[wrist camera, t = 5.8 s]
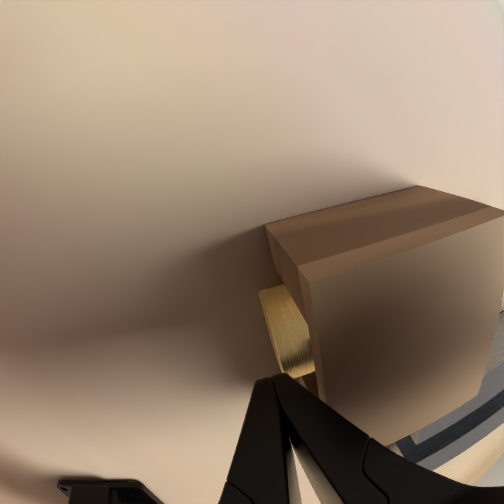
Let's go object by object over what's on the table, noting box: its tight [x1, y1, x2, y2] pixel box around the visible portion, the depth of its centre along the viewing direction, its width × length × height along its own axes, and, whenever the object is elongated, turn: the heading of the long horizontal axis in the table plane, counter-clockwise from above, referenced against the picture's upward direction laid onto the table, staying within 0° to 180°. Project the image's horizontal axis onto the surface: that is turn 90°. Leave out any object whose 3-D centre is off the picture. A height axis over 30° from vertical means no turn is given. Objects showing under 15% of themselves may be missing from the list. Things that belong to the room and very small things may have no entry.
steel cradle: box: [385, 311, 504, 471], centre depth 13 cm, size 8×11×3 cm
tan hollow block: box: [265, 186, 504, 446], centre depth 9 cm, size 7×6×4 cm
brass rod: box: [259, 284, 315, 378], centre depth 10 cm, size 11×3×3 cm, turn 103°
